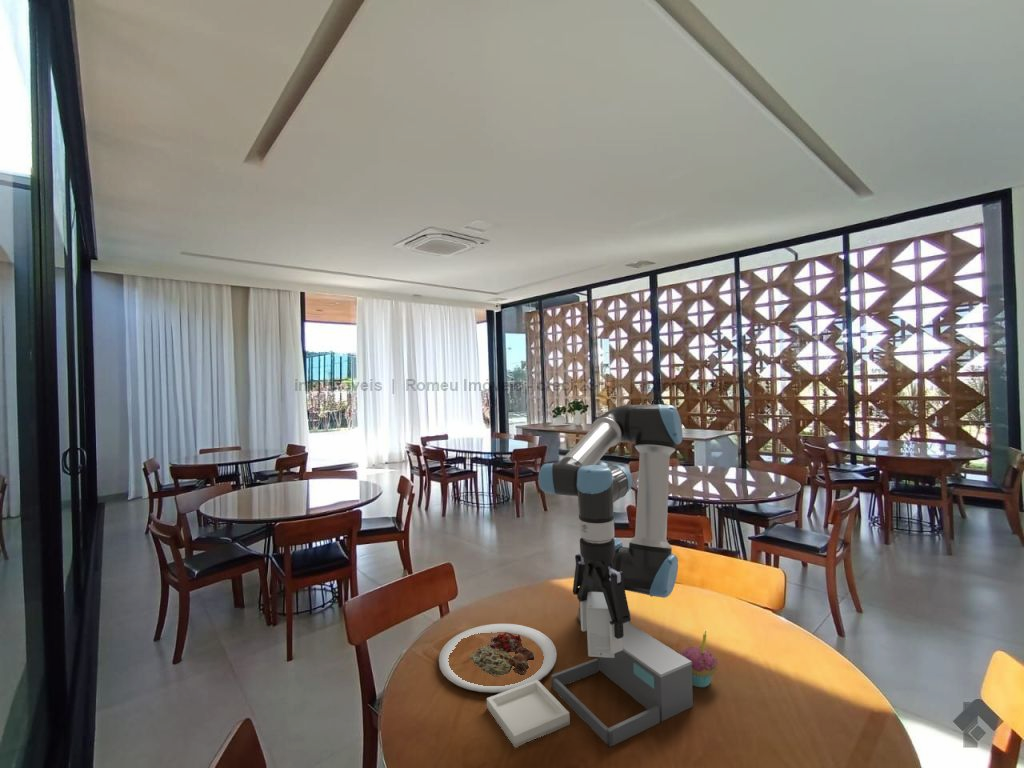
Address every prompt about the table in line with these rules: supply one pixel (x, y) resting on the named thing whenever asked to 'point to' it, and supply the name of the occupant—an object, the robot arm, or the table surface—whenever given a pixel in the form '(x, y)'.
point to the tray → (527, 712)
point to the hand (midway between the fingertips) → (601, 639)
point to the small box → (598, 626)
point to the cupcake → (701, 664)
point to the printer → (635, 683)
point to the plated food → (501, 655)
